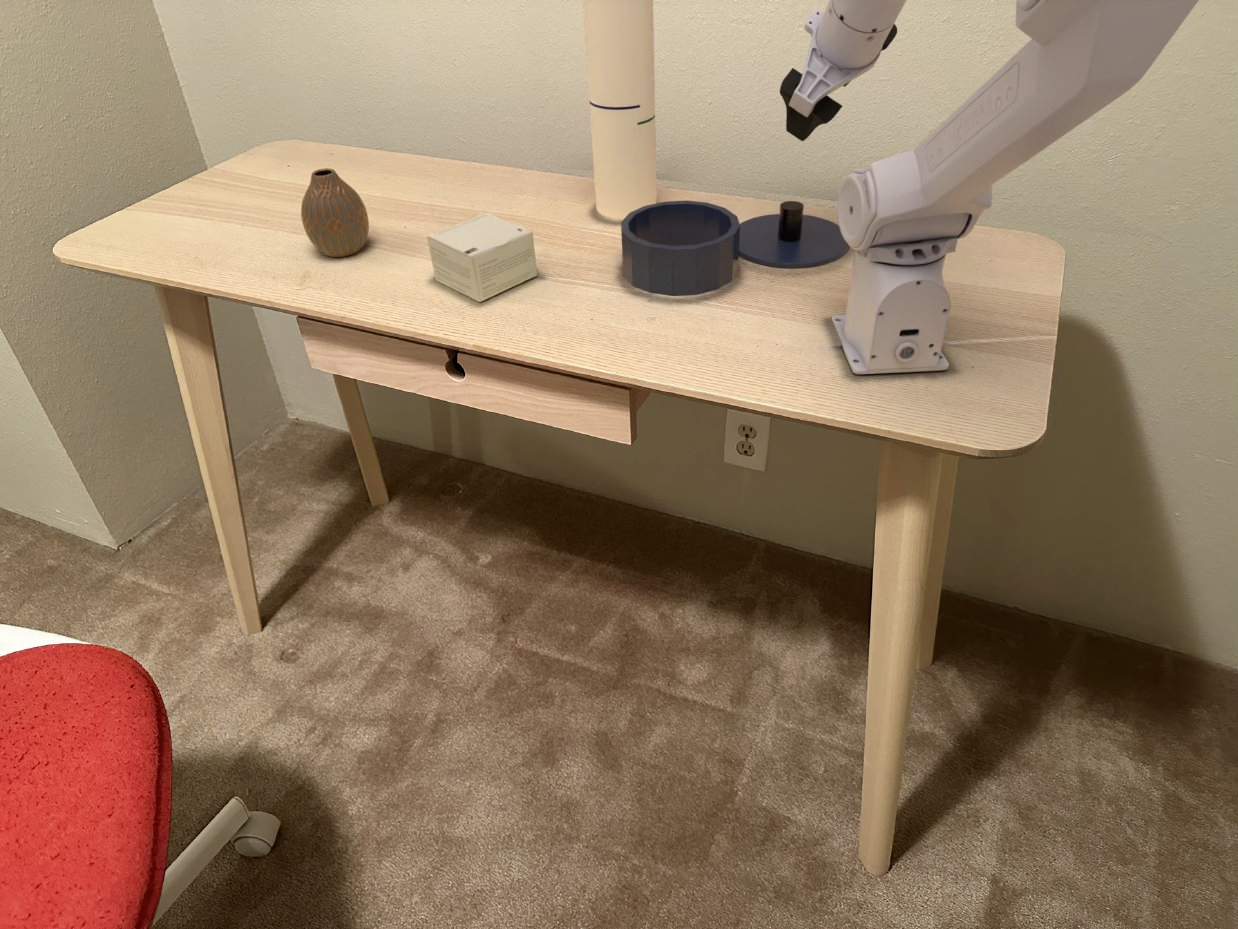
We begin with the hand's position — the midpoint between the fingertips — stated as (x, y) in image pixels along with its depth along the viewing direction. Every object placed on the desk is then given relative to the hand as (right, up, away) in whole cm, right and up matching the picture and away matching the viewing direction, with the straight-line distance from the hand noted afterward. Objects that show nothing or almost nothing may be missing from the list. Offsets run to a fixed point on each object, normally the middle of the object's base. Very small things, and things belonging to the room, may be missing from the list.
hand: (817, 106), depth 84 cm
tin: (-13, -15, +4) cm, 21 cm away
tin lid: (-1, -11, +7) cm, 14 cm away
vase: (-50, -11, +12) cm, 53 cm away
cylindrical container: (-18, -5, +17) cm, 26 cm away
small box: (-33, -16, +5) cm, 37 cm away
